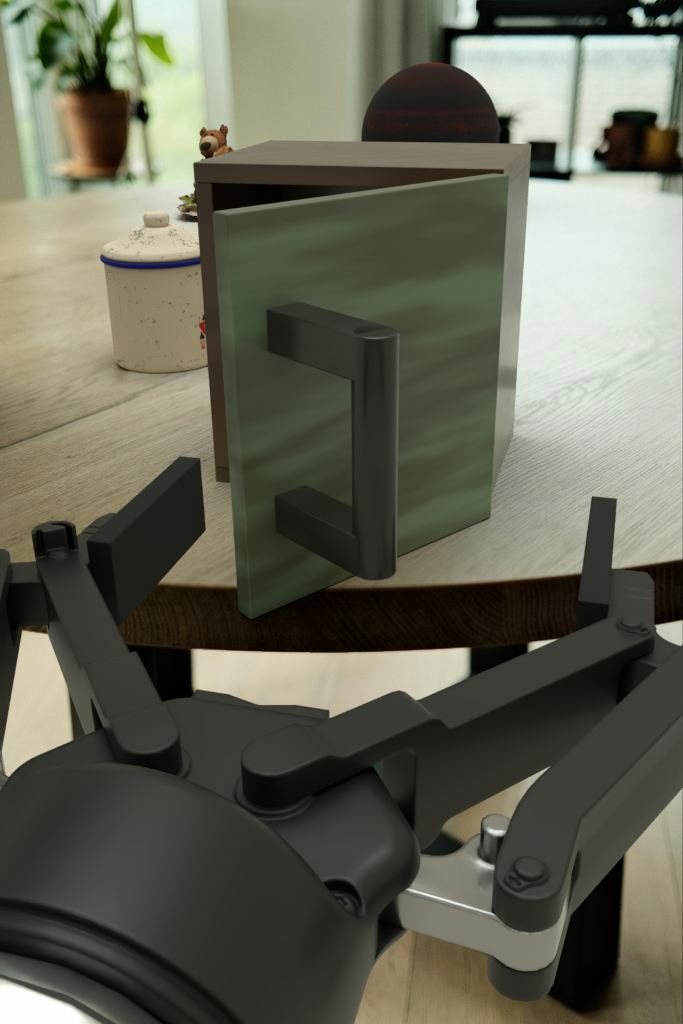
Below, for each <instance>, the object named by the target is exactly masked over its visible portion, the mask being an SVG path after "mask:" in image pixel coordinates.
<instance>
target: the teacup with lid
mask: <svg viewBox="0 0 683 1024" xmlns="http://www.w3.org/2000/svg"><path fill="white" fill-rule="evenodd" d="M142 222H143V224H142V225H138V226H136V227H133V228H132V229H130V230H129V231H128V232H127V233H125V234H124V235H123V236H121V237H120V238H118V239H114V240H112V241H110V242H108V243H106V244H104V246H103V247H102V249H101V251H100V253H101V254H100V256H99V260H100V261H101V262H102V264H103V268H104V276H105V286H106V294H107V302H108V303H107V304H108V312H109V320H110V321H109V322H110V330H111V331H110V332H111V339H112V347H113V357H114V360H115V362H116V363H117V365H118V366H119V367H121V368H123V369H124V370H125V369H126V370H128V371H133V372H137V373H147V374H170V373H180V372H181V373H182V372H188V371H193V370H197V369H201V368H205V367H208V360H207V346H206V332H205V318H204V304H203V290H202V276H201V262H200V248H199V235H196V234H194V233H192V232H191V231H189V230H188V229H186V228H184V227H182V226H180V225H177V224H173V223H170V214H169V213H168V212H167V211H165V210H150V211H149V210H148V211H145V212H144V213H143V215H142Z"/></svg>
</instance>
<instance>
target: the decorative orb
mask: <svg viewBox="0 0 683 1024" xmlns="http://www.w3.org/2000/svg"><path fill="white" fill-rule="evenodd" d="M361 142H428V143H500V121H499V117H498V113H497V110H496V107H495V104H494V102H493V100H492V98H491V96H490V94H489V93H488V91H487V90H486V89H485V87H484V86H483V85H482V83H481V82H480V81H479V80H477V78H475V77H474V76H473V75H472V74H470V73H468V72H467V71H466V70H464V69H462V68H460V67H457V66H455V65H452V64H448V63H445V62H444V63H443V62H422V63H417V64H413V65H410V66H408V67H405V68H403V69H401V70H400V71H399V70H398V71H397V72H396V73H394V74H393V75H391V77H389V78H387V80H385V82H383V83H382V84H381V86H380V87H379V88H378V89H377V90H376V92H375V93H374V95H373V96H372V98H371V100H370V102H369V104H368V106H367V108H366V110H365V114H364V117H363V121H362V126H361Z"/></svg>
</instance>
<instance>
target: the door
mask: <svg viewBox="0 0 683 1024" xmlns="http://www.w3.org/2000/svg"><path fill="white" fill-rule="evenodd" d="M508 187H509V175H505V174H496V173H492V174H485V175H478V176H470V177H463V178H456V179H448V180H441V181H433V182H426V183H419V184H411V185H404V186H397V187H389V188H382V189H375V190H367V191H360V192H353V193H345V194H338V195H331V196H323V197H316V198H309V199H301V200H294V201H287V202H279V203H272V204H265V205H257V206H250V207H243V208H235V209H228V210H221V211H214V212H213V225H214V240H215V255H216V271H217V286H218V301H219V317H220V332H221V347H222V363H223V378H224V393H225V409H226V424H227V439H228V455H229V470H230V483H229V484H230V485H229V486H230V499H231V514H232V515H231V516H232V531H233V543H234V546H233V547H234V559H235V560H234V562H235V578H236V592H237V607H238V612H239V613H240V614H241V615H243V616H245V617H246V618H248V619H249V620H254V619H255V618H258V617H260V616H262V615H265V614H267V613H270V612H272V611H274V610H276V609H279V608H282V607H284V606H285V605H288V604H290V603H293V602H296V601H298V600H301V599H303V598H305V597H307V596H310V595H312V594H314V593H316V592H320V590H324V589H325V588H329V587H330V586H333V585H335V584H337V583H340V582H342V581H344V580H346V579H349V578H351V577H353V576H355V577H356V578H360V579H363V580H365V581H383V580H384V581H385V580H387V579H390V578H392V577H393V576H394V575H396V573H397V571H398V557H400V556H403V555H404V554H407V553H409V552H412V551H414V550H416V549H419V548H421V547H423V546H426V545H429V544H431V543H433V542H435V541H439V540H440V539H442V538H444V537H447V536H449V535H452V534H454V533H457V532H459V531H461V530H463V529H466V528H468V527H470V526H473V525H475V524H477V523H479V522H482V521H485V520H486V519H489V518H490V517H491V515H492V513H491V512H492V499H493V498H492V496H493V492H492V479H493V461H494V443H495V425H496V406H497V388H498V370H499V352H500V333H501V315H502V297H503V279H504V260H505V242H506V224H507V205H508Z"/></svg>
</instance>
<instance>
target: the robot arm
mask: <svg viewBox="0 0 683 1024" xmlns="http://www.w3.org/2000/svg"><path fill="white" fill-rule="evenodd" d="M201 463H202V461H201V457H192V456H181V455H179V456H178V457H177V458H176V459H175V460H174V461H172V463H170V464H169V465H168V466H167V467H166V468H164V470H162V472H161V473H159V474H158V475H157V476H156V477H155V478H154V479H152V481H150V482H149V483H148V484H147V485H146V486H145V487H144V488H143V489H142V490H141V491H139V492H138V493H137V494H136V495H135V496H134V497H133V498H131V499H130V500H129V501H128V502H127V503H126V504H125V505H124V506H122V507H121V508H120V510H118V511H117V512H108V513H105V514H104V515H101V516H99V517H97V518H95V519H94V520H93V521H92V522H90V524H88V525H87V527H85V528H84V529H83V530H81V532H79V533H77V526H76V525H75V524H74V523H73V522H71V521H69V520H59V519H58V520H50V521H46V522H41V523H40V524H38V525H36V526H34V527H33V529H31V542H32V548H33V553H34V560H33V561H32V560H31V561H20V562H19V561H18V562H12V560H11V559H12V558H11V555H10V551H9V550H8V549H5V548H0V1024H355V1023H356V1020H357V1016H358V1013H359V1010H360V1006H361V1003H362V1000H363V996H364V993H365V989H366V986H367V984H368V983H367V982H368V980H369V978H370V975H371V973H372V970H373V968H374V966H375V965H376V964H377V962H378V961H379V959H380V958H381V957H382V956H383V955H384V953H386V952H387V950H389V949H390V948H391V947H392V946H393V945H395V944H396V942H398V941H399V940H400V939H402V938H403V937H404V936H405V935H406V933H408V932H409V931H412V932H415V933H419V934H422V935H425V936H429V937H432V938H434V939H438V940H441V941H445V942H448V943H451V944H454V945H458V946H461V947H464V948H467V949H471V950H474V951H477V952H480V953H484V954H487V969H486V975H487V977H488V980H489V982H490V985H491V986H492V987H493V988H494V989H495V990H496V991H497V992H498V993H499V994H501V995H502V996H504V997H506V998H508V999H510V1000H512V1001H518V1002H524V1003H527V1002H532V1001H538V1000H540V999H542V998H543V997H544V996H546V995H547V994H549V993H550V991H551V988H552V987H553V985H554V982H555V979H556V975H557V971H558V967H559V963H560V958H561V956H562V951H563V948H564V943H565V939H566V935H567V931H568V927H569V924H570V921H571V917H572V914H573V913H574V912H575V911H576V910H577V909H578V908H579V906H580V905H582V903H583V902H584V901H585V900H586V899H587V898H588V896H589V895H590V894H591V893H592V892H593V891H594V890H595V889H596V888H597V886H598V885H599V884H600V883H601V882H602V881H603V879H605V877H606V876H607V875H608V874H609V872H610V871H611V870H613V868H614V867H615V866H616V865H617V864H618V862H619V861H620V860H622V858H623V857H624V855H625V854H626V853H627V852H628V851H629V850H630V849H631V847H633V845H634V844H635V843H636V842H637V841H638V839H639V838H641V836H642V835H643V834H644V833H645V832H646V830H647V829H648V828H649V827H650V826H651V825H652V823H654V822H655V820H656V819H657V818H658V817H659V816H660V814H661V813H663V811H664V810H665V809H666V808H667V806H668V805H670V803H671V802H672V801H673V800H674V799H675V798H676V797H677V795H678V794H679V793H680V792H681V791H682V790H683V643H682V644H681V645H680V644H676V643H674V642H671V641H669V640H667V639H665V638H664V637H662V636H661V635H660V634H659V633H658V632H657V630H658V628H657V626H656V625H655V580H653V578H652V577H651V576H650V574H649V573H648V571H647V572H646V571H638V570H628V569H619V568H613V557H614V545H615V529H616V520H617V519H616V517H617V505H618V498H616V497H615V498H614V497H607V496H606V497H604V496H594V495H592V496H591V499H590V500H591V501H590V506H589V514H588V522H587V530H586V538H585V545H584V551H583V558H582V559H583V560H582V565H581V573H580V574H581V575H580V581H579V589H578V596H577V597H578V598H577V607H576V616H575V625H574V631H573V632H572V633H569V634H567V635H564V636H562V637H560V638H557V639H556V640H555V639H554V640H553V641H550V642H548V643H546V644H544V645H542V646H539V647H537V648H535V649H532V650H530V651H528V652H525V653H523V654H520V655H518V656H516V657H514V658H512V659H509V660H507V661H505V662H503V663H500V664H498V665H495V666H493V667H491V668H488V669H486V670H484V671H482V672H479V673H477V674H475V675H473V676H470V677H468V678H465V679H463V680H461V681H459V682H456V683H454V684H452V685H450V686H447V687H444V688H442V689H440V690H438V691H435V692H433V693H431V694H428V695H427V696H424V697H421V698H419V699H415V698H414V697H413V696H412V695H410V694H409V693H408V692H406V691H403V690H399V689H398V690H394V691H391V692H389V693H386V694H384V695H382V696H379V697H377V698H375V699H371V700H369V701H367V702H365V703H363V704H360V705H357V706H355V707H353V708H351V709H348V710H346V711H343V712H341V713H338V714H337V715H334V716H330V709H325V708H319V707H318V708H317V707H312V706H306V705H299V704H258V703H254V702H251V701H248V700H246V699H243V698H240V697H238V696H235V695H232V694H229V693H224V692H217V691H211V690H205V689H198V688H197V689H196V690H194V692H193V694H192V695H191V697H181V698H174V699H173V698H172V699H168V700H165V701H162V698H161V697H160V694H159V693H158V690H157V689H156V687H155V685H154V683H153V680H152V679H151V676H150V675H149V672H148V671H147V669H146V667H145V665H144V663H143V662H142V660H141V657H140V655H139V654H138V652H137V650H136V651H131V652H130V649H129V648H128V646H127V644H126V642H125V640H124V637H123V636H122V634H121V632H120V629H119V627H121V626H122V625H123V624H124V623H125V622H126V620H128V618H129V617H130V616H131V615H132V614H133V613H134V612H135V610H136V609H137V608H139V606H140V605H141V603H143V601H144V600H145V599H146V598H147V597H148V596H149V595H150V593H152V591H153V590H154V589H155V588H156V587H157V586H158V585H159V584H160V583H161V581H162V580H163V579H164V578H165V577H166V576H167V575H168V574H169V572H171V570H172V569H173V568H174V567H175V566H176V565H177V563H179V561H180V560H181V559H182V558H183V557H184V556H185V554H186V553H187V552H188V551H189V550H190V549H191V548H192V547H193V546H194V544H195V543H196V542H197V541H198V540H199V539H200V537H202V535H203V534H204V533H205V532H206V531H207V527H206V515H205V514H206V513H205V502H204V501H205V500H204V499H205V498H204V488H203V476H202V464H201ZM34 626H45V628H46V634H47V637H48V639H49V642H50V645H51V647H52V650H53V652H54V656H55V658H56V660H57V663H58V666H59V668H60V671H61V674H62V676H63V679H64V682H65V684H66V687H67V690H68V693H69V695H70V698H71V701H72V703H73V706H74V708H75V711H76V714H77V716H78V719H79V722H80V724H81V727H82V729H83V732H84V735H81V736H79V737H77V738H75V739H72V740H70V741H67V742H66V743H63V744H61V745H59V746H56V747H54V748H51V749H49V750H47V751H45V752H42V753H39V754H38V755H35V756H33V757H31V758H30V759H28V760H26V761H24V762H22V763H21V764H20V765H19V766H18V767H17V768H16V769H15V770H14V771H13V772H11V774H10V775H7V772H6V767H5V761H4V756H3V746H4V742H5V735H6V729H7V724H8V718H9V711H10V706H11V700H12V694H13V689H14V682H15V676H16V672H17V671H16V670H17V664H18V659H19V654H20V647H21V641H22V636H23V630H24V629H23V627H34ZM118 626H119V627H118ZM380 763H381V777H380V774H379V773H378V771H377V770H376V768H375V767H374V766H376V765H378V764H380ZM542 771H543V773H542V774H540V775H539V776H538V777H537V778H536V779H535V781H534V782H533V783H532V784H531V785H530V786H529V787H528V788H527V790H526V791H525V792H524V794H522V795H523V796H522V797H521V798H520V800H519V801H518V802H517V805H516V807H515V809H514V811H513V814H512V816H511V818H510V817H508V816H506V815H504V814H502V813H490V814H487V815H486V816H484V817H483V818H482V820H481V822H480V829H479V833H476V834H474V835H473V836H471V837H469V838H468V840H466V842H464V844H463V845H462V846H461V847H460V848H459V849H457V850H455V851H454V852H452V853H448V854H444V855H443V854H442V855H431V854H425V853H421V852H422V851H424V850H425V849H427V848H428V847H430V846H432V844H433V843H434V842H435V841H436V840H437V838H438V837H439V835H440V833H441V831H442V830H443V827H444V825H445V824H446V823H447V822H448V821H449V820H450V819H452V818H453V817H455V816H456V817H457V815H459V814H461V813H464V812H465V811H467V810H469V809H472V808H473V807H475V806H476V805H480V803H482V802H484V801H486V800H488V799H491V798H492V797H494V796H496V795H498V794H500V793H502V792H504V791H505V790H507V789H509V788H512V787H513V786H515V785H517V784H519V783H521V782H523V781H525V780H526V779H528V778H530V777H534V775H536V774H539V773H541V772H542Z"/></svg>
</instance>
